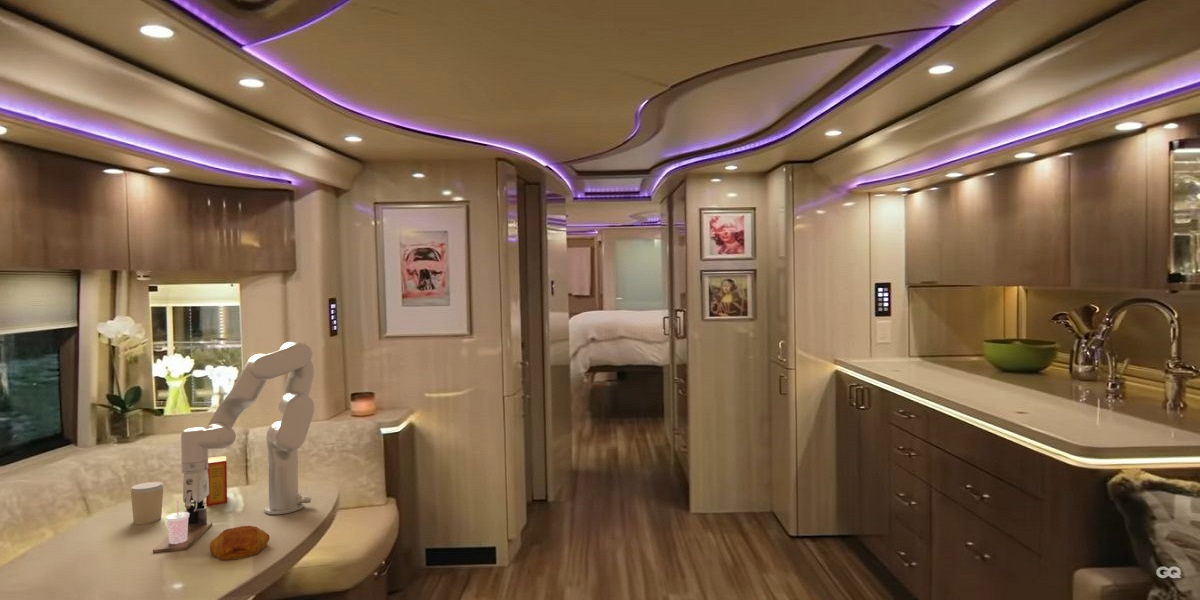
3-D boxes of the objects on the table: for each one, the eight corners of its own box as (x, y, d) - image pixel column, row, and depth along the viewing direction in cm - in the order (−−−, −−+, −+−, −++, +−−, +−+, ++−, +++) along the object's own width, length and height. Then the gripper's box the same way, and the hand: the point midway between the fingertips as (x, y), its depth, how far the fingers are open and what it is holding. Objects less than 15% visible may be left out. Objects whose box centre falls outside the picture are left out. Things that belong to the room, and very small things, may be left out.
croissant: (216, 554, 197) (211, 528, 197) (272, 539, 202) (268, 514, 202) (205, 571, 183) (200, 544, 183) (266, 555, 189) (261, 529, 188)
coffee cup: (170, 515, 225) (170, 481, 225) (149, 525, 216) (149, 489, 216) (145, 515, 226) (145, 481, 226) (123, 524, 217) (123, 488, 217)
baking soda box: (206, 499, 244) (205, 457, 244) (226, 496, 247) (225, 454, 247) (206, 506, 236) (205, 462, 236) (227, 502, 239) (226, 459, 239)
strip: (212, 524, 216) (212, 507, 216) (186, 549, 194) (186, 530, 194) (182, 527, 214) (181, 509, 214) (152, 552, 192) (152, 533, 192)
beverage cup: (161, 545, 198) (161, 500, 197) (182, 538, 203) (181, 494, 203) (174, 549, 195) (173, 503, 195) (194, 542, 201) (193, 497, 200)
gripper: (198, 471, 206) (198, 528, 206) (216, 458, 223) (217, 511, 223) (171, 473, 204) (172, 530, 204) (192, 460, 221) (192, 513, 221)
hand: (195, 520), depth 213 cm, fingers open, 4 cm apart
